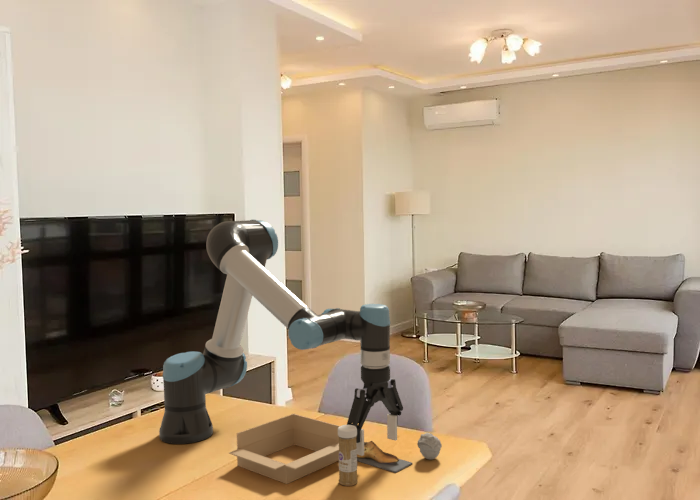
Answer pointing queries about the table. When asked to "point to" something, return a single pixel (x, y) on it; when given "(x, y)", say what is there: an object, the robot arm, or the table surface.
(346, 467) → the sprinkles bottle
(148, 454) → the table surface
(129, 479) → the table surface
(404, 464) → the mat
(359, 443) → the robot arm
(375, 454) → the shoe last
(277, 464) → the carton
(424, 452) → the grey rough lump
